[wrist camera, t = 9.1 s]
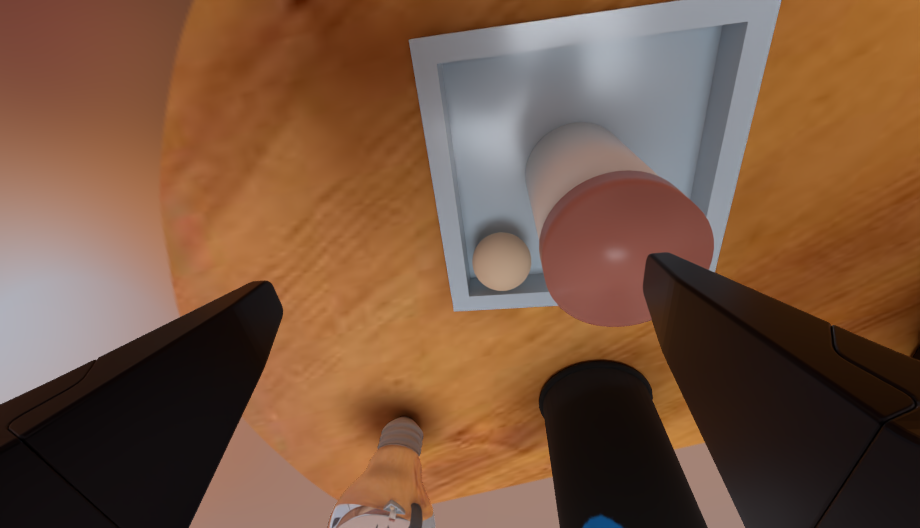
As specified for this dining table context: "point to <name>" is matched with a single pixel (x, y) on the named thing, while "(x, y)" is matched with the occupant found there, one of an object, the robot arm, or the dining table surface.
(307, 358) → the dining table surface
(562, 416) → the aerosol can
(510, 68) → the dish
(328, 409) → the dining table surface
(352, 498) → the light bulb
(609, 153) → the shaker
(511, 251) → the cork ball
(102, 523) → the robot arm
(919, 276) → the dining table surface
